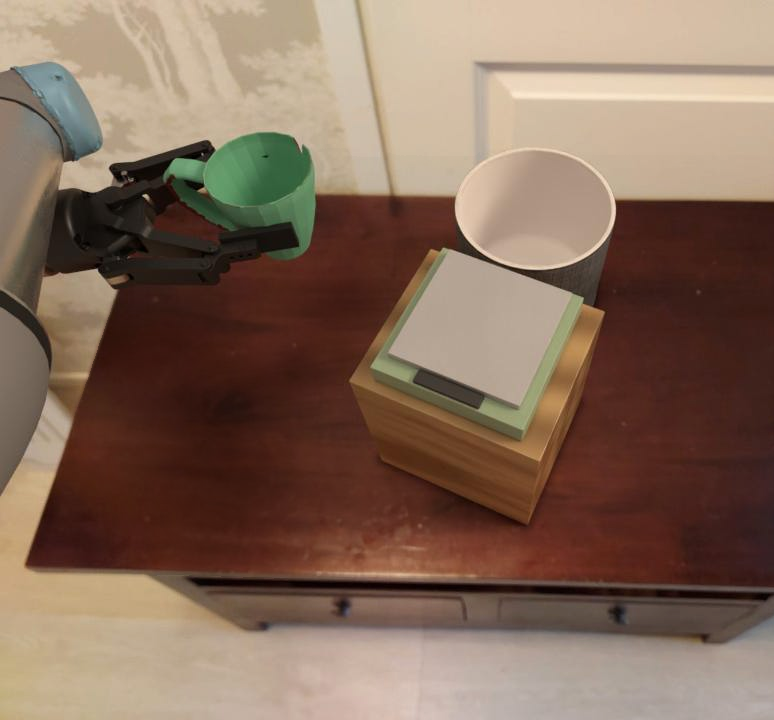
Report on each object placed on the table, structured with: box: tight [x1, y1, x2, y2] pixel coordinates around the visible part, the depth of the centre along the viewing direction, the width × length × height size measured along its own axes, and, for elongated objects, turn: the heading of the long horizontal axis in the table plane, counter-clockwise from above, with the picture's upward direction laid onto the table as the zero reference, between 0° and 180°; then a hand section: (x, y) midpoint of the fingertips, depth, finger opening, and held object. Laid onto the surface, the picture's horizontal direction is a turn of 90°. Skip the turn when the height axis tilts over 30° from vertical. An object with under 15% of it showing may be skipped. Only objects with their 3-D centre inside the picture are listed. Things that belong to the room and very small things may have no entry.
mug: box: [163, 131, 317, 261], centre depth 63 cm, size 15×10×10 cm
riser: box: [348, 248, 606, 526], centre depth 67 cm, size 16×18×20 cm
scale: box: [370, 247, 584, 441], centre depth 57 cm, size 14×14×3 cm
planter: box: [454, 146, 617, 308], centre depth 79 cm, size 18×18×16 cm
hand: (292, 196), depth 62 cm, fingers closed on mug, 9 cm apart
